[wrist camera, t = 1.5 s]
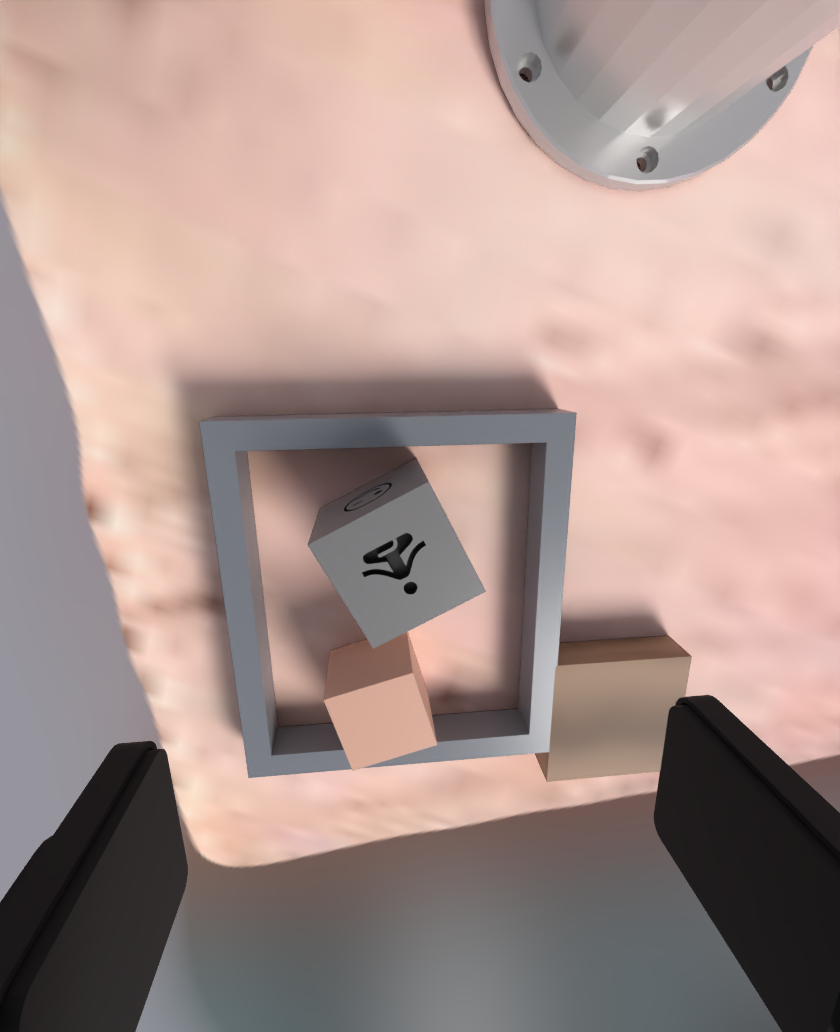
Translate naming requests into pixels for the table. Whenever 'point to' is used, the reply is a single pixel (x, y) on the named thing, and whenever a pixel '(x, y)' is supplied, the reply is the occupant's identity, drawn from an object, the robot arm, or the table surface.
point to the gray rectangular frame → (244, 592)
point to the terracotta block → (378, 701)
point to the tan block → (613, 706)
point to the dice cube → (393, 554)
